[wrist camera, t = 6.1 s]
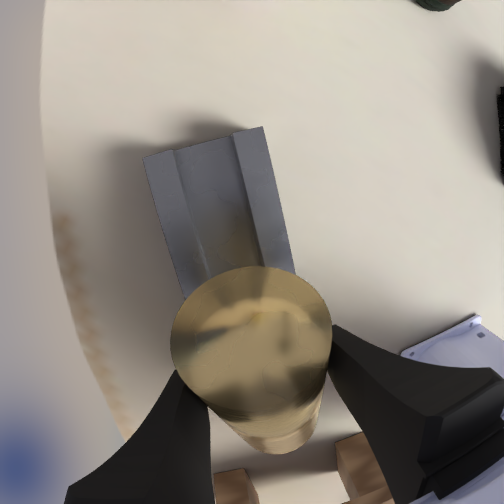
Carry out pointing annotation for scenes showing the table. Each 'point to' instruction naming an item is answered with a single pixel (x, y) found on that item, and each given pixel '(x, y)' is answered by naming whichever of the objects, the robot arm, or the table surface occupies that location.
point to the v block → (219, 207)
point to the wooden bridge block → (349, 468)
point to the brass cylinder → (256, 353)
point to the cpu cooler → (503, 114)
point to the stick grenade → (437, 4)
